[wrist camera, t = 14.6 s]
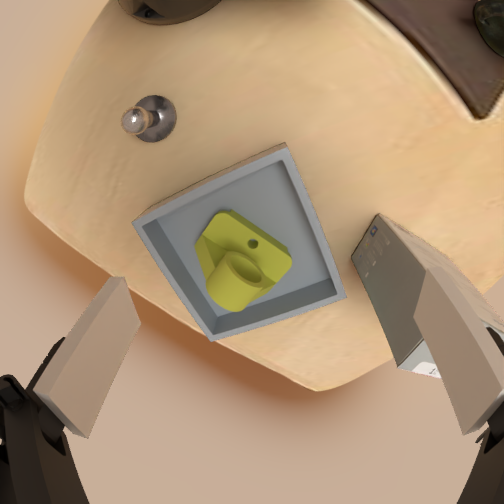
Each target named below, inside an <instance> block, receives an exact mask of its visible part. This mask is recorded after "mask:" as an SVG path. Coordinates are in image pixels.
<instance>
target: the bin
mask: <svg viewBox="0 0 504 504" xmlns="http://www.w3.org/2000/svg"><path fill="white" fill-rule="evenodd" d="M231 209H232V210H234V211H235V212H237V213H238V214H240V215H241V216H243V217H244V218H246V219H247V220H248V221H250V222H251V223H253V224H254V225H256V226H257V227H259V228H260V229H262V230H263V231H264V232H266V233H267V234H269V235H270V236H272V237H273V238H275V239H276V240H277V241H279V242H280V243H282V244H283V245H285V246H286V247H287V249H288V253H289V254H290V255H291V257H292V266H291V268H290V269H289V270H288V271H287V272H286V273H285V274H284V276H283V277H282V278H281V279H280V280H279V281H278V282H277V283H276V284H275V285H274V286H273V288H272V289H271V290H270V291H269V292H268V293H267V294H265V295H263V296H261V297H259V298H258V299H256V300H254V301H252V302H250V303H249V304H248V305H247V306H246V307H245V308H244V309H243V310H242V311H239V312H233V311H229V310H226V309H224V308H223V307H221V306H220V305H218V304H217V303H216V302H215V301H214V300H213V299H212V298H211V297H210V295H209V294H208V292H207V289H206V285H205V283H206V279H205V277H204V274H203V271H202V268H201V265H200V262H199V259H198V257H197V254H196V251H195V248H194V245H195V243H196V242H197V240H198V239H199V237H200V236H201V234H202V233H203V232H204V230H205V229H206V227H207V226H208V224H209V223H210V221H211V220H212V219H213V217H214V216H215V214H216V213H217V212H219V211H228V212H230V211H231ZM132 225H133V226H134V228H135V230H136V231H137V233H138V235H139V236H140V238H141V240H142V241H143V243H144V244H145V246H146V248H147V249H148V251H149V252H150V254H151V256H152V257H153V259H154V260H155V262H156V263H157V265H158V267H159V268H160V270H161V271H162V273H163V274H164V276H165V277H166V279H167V280H168V282H169V283H170V285H171V286H172V288H173V289H174V291H175V292H176V294H177V295H178V297H179V298H180V300H181V301H182V303H183V304H184V305H185V307H186V308H187V310H188V311H189V313H190V314H191V315H192V317H193V318H194V320H195V321H196V322H197V324H198V325H199V327H200V328H201V329H202V331H203V332H204V333H205V335H206V336H207V338H208V339H209V340H210V341H215V340H219V339H222V338H226V337H229V336H233V335H236V334H240V333H243V332H246V331H250V330H253V329H256V328H259V327H263V326H266V325H269V324H272V323H275V322H278V321H281V320H284V319H287V318H291V317H294V316H296V315H299V314H302V313H305V312H308V311H311V310H314V309H317V308H320V307H323V306H325V305H328V304H331V303H334V302H336V301H339V300H342V299H344V298H347V296H346V293H345V290H344V287H343V284H342V281H341V279H340V276H339V273H338V270H337V267H336V265H335V262H334V259H333V256H332V254H331V251H330V248H329V246H328V243H327V240H326V238H325V235H324V233H323V230H322V227H321V225H320V222H319V220H318V217H317V215H316V212H315V210H314V207H313V205H312V202H311V200H310V198H309V195H308V193H307V190H306V188H305V186H304V183H303V181H302V179H301V176H300V174H299V172H298V169H297V167H296V165H295V163H294V160H293V158H292V156H291V154H290V151H289V149H288V147H287V145H286V143H282V144H280V145H278V146H275V147H273V148H271V149H268V150H266V151H264V152H261V153H259V154H257V155H255V156H252V157H250V158H248V159H246V160H243V161H241V162H239V163H237V164H235V165H233V166H230V167H228V168H226V169H224V170H222V171H220V172H218V173H216V174H214V175H212V176H210V177H208V178H206V179H203V180H201V181H199V182H197V183H195V184H193V185H192V186H190V187H188V188H186V189H184V190H182V191H180V192H178V193H176V194H174V195H172V196H170V197H168V198H166V199H165V200H163V201H161V202H159V203H157V204H155V205H154V206H152V207H150V208H148V209H146V210H145V211H144V212H143V213H142V214H141V215H140V216H138V217H137V218H136V219H135V220H134V221H133V222H132ZM250 240H251V241H257V240H255V239H250Z"/></svg>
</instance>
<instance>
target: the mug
mask: <svg viewBox="0 0 504 504" xmlns="http://www.w3.org/2000/svg"><path fill="white" fill-rule="evenodd" d="M475 20H476V24H477V27H478V29H479V31H480V33H481V35H482V37H483V38H484V40H485V41H486V42H487V44H488V45H489V46H490V47H491V48H492V49H493V50H494V51H495V52H497V53H498V54H500V55H501V56H503V57H504V0H480V1H479V2H478V3H477V4H476V6H475Z"/></svg>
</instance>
